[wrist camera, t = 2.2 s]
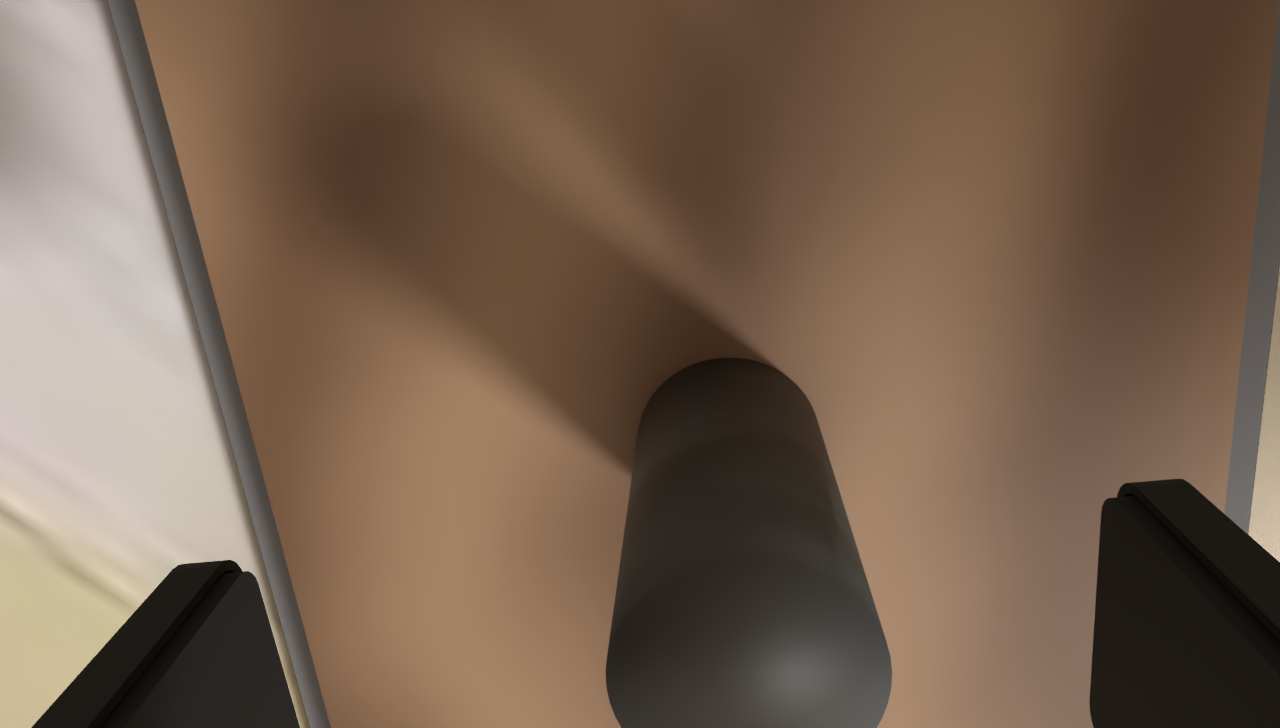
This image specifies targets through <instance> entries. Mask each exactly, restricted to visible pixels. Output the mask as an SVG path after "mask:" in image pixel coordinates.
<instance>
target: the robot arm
mask: <svg viewBox="0 0 1280 728" xmlns="http://www.w3.org/2000/svg"><path fill="white" fill-rule="evenodd" d="M1089 702H1090V714H1091V720H1092V724H1093V727H1094V728H1280V562H1278V561H1277V560H1276V559H1275V558H1274V557H1273V556H1272V555H1270V554H1269V553H1268V552H1267V551H1266V550H1265V549H1264V548H1263V547H1261V546H1260V545H1259V544H1258V543H1257V542H1256V541H1255V540H1253V539H1252V538H1251V537H1250V536H1249V535H1248V534H1247V533H1246V532H1244V531H1243V530H1242V529H1241V528H1240V527H1239V526H1238V525H1236V524H1235V523H1234V522H1233V521H1232V520H1231V519H1230V518H1229V517H1227V516H1226V515H1225V514H1224V513H1223V512H1222V511H1221V510H1219V509H1218V508H1217V507H1216V506H1215V505H1214V504H1213V503H1212V502H1210V501H1209V500H1208V499H1207V498H1206V497H1205V496H1204V495H1202V494H1201V493H1200V492H1199V491H1198V490H1197V489H1196V488H1195V487H1193V486H1192V485H1191V484H1190V483H1189V482H1187V481H1185V480H1184V479H1167V480H1156V481H1144V482H1133V483H1125V484H1123V485H1122V486H1121V487H1120V489H1119V491H1118V494H1117V497H1116V498H1107V499H1106V500H1105V501H1104V503H1103V506H1102V511H1101V523H1100V539H1099V555H1098V571H1097V588H1096V604H1095V620H1094V636H1093V652H1092V668H1091V684H1090V700H1089ZM32 728H300V727H299V723H298V720H297V716H296V713H295V709H294V706H293V702H292V699H291V696H290V692H289V689H288V685H287V682H286V678H285V675H284V671H283V668H282V664H281V661H280V658H279V654H278V651H277V647H276V644H275V640H274V637H273V633H272V630H271V626H270V623H269V620H268V616H267V613H266V609H265V606H264V602H263V599H262V595H261V592H260V588H259V585H258V582H257V580H256V578H255V576H254V575H253V574H252V573H250V572H248V571H247V572H242V570H241V568H240V567H239V566H238V564H237V563H236V562H234V561H231V560H225V561H214V562H202V563H191V564H182V565H178V566H177V567H176V568H174V569H173V570H172V571H171V572H170V573H169V574H168V575H167V577H166V578H165V579H164V580H163V581H162V582H161V583H160V584H159V585H158V587H157V588H156V589H155V590H154V591H153V592H152V593H151V594H150V596H149V597H148V598H147V599H146V600H145V601H144V602H143V603H142V605H141V606H140V607H139V608H138V609H137V610H136V611H135V612H134V613H133V615H132V616H131V617H130V618H129V619H128V620H127V621H126V622H125V624H124V625H123V626H122V627H121V628H120V629H119V630H118V631H117V632H116V634H115V635H114V636H113V637H112V638H111V639H110V640H109V641H108V643H107V644H106V645H105V646H104V647H103V648H102V649H101V650H100V652H99V653H98V654H97V655H96V656H95V657H94V658H93V659H92V660H91V662H90V663H89V664H88V665H87V666H86V667H85V668H84V669H83V671H82V672H81V673H80V674H79V675H78V676H77V677H76V678H75V680H74V681H73V682H72V683H71V684H70V685H69V686H68V687H67V688H66V690H65V691H64V692H63V693H62V694H61V695H60V696H59V697H58V699H57V700H56V701H55V702H54V703H53V704H52V705H51V706H50V707H49V709H48V710H47V711H46V712H45V713H44V714H43V715H42V716H41V718H40V719H39V720H38V721H37V722H36V723H35V724H34V725H33V727H32Z"/></svg>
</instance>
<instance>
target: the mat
mask: <svg viewBox="0 0 1280 728" xmlns="http://www.w3.org/2000/svg"><path fill="white" fill-rule="evenodd" d="M108 4H109V8H110V11H111V15H112V18H113V22H114V26H115V29H116V33H117V36H118V40H119V44H120V47H121V51H122V54H123V58H124V61H125V65H126V69H127V72H128V76H129V79H130V83H131V87H132V90H133V94H134V97H135V101H136V105H137V108H138V112H139V115H140V119H141V122H142V126H143V130H144V133H145V137H146V140H147V144H148V148H149V151H150V155H151V158H152V162H153V166H154V169H155V173H156V176H157V180H158V184H159V187H160V191H161V194H162V198H163V201H164V205H165V209H166V212H167V216H168V219H169V223H170V227H171V230H172V234H173V237H174V241H175V245H176V248H177V252H178V255H179V259H180V262H181V266H182V270H183V273H184V277H185V280H186V284H187V288H188V291H189V295H190V298H191V302H192V306H193V309H194V313H195V316H196V320H197V323H198V327H199V331H200V334H201V338H202V341H203V345H204V349H205V352H206V356H207V359H208V363H209V367H210V370H211V374H212V377H213V381H214V385H215V388H216V392H217V395H218V399H219V402H220V406H221V410H222V413H223V417H224V420H225V424H226V428H227V431H228V435H229V438H230V442H231V446H232V449H233V453H234V456H235V460H236V463H237V467H238V471H239V474H240V478H241V481H242V485H243V489H244V492H245V496H246V499H247V503H248V507H249V510H250V514H251V517H252V521H253V524H254V528H255V532H256V535H257V539H258V542H259V546H260V550H261V553H262V557H263V560H264V564H265V568H266V571H267V575H268V578H269V582H270V586H271V589H272V593H273V596H274V600H275V603H276V607H277V611H278V614H279V618H280V621H281V625H282V629H283V632H284V636H285V639H286V643H287V647H288V650H289V654H290V657H291V661H292V664H293V668H294V672H295V675H296V679H297V682H298V686H299V690H300V693H301V697H302V700H303V704H304V708H305V711H306V715H307V718H308V722H309V725H310V728H331V726H330V722H329V718H328V715H327V711H326V707H325V704H324V700H323V696H322V692H321V689H320V685H319V681H318V678H317V674H316V670H315V666H314V663H313V659H312V655H311V652H310V648H309V644H308V641H307V637H306V633H305V629H304V626H303V622H302V618H301V615H300V611H299V607H298V603H297V600H296V596H295V592H294V589H293V585H292V581H291V577H290V574H289V570H288V566H287V563H286V559H285V555H284V552H283V548H282V544H281V540H280V537H279V533H278V529H277V526H276V522H275V518H274V514H273V511H272V507H271V503H270V500H269V496H268V492H267V488H266V485H265V481H264V477H263V474H262V470H261V466H260V462H259V459H258V455H257V451H256V448H255V444H254V440H253V437H252V433H251V429H250V425H249V422H248V418H247V414H246V411H245V407H244V403H243V399H242V396H241V392H240V388H239V385H238V381H237V377H236V373H235V370H234V366H233V362H232V359H231V355H230V351H229V347H228V344H227V340H226V336H225V333H224V329H223V325H222V322H221V318H220V314H219V310H218V307H217V303H216V299H215V296H214V292H213V288H212V284H211V281H210V277H209V273H208V270H207V266H206V262H205V258H204V255H203V251H202V247H201V244H200V240H199V236H198V233H197V229H196V225H195V221H194V218H193V214H192V210H191V207H190V203H189V199H188V195H187V192H186V188H185V184H184V181H183V177H182V173H181V169H180V166H179V162H178V158H177V155H176V151H175V147H174V143H173V140H172V136H171V132H170V129H169V125H168V121H167V118H166V114H165V110H164V106H163V103H162V99H161V95H160V92H159V88H158V84H157V80H156V77H155V73H154V69H153V66H152V62H151V58H150V54H149V51H148V47H147V43H146V40H145V36H144V32H143V28H142V25H141V21H140V17H139V14H138V10H137V6H136V3H135V0H108ZM1279 265H1280V0H1279V5H1278V14H1277V24H1276V33H1275V42H1274V52H1273V61H1272V71H1271V80H1270V89H1269V99H1268V108H1267V118H1266V127H1265V136H1264V146H1263V155H1262V165H1261V174H1260V183H1259V193H1258V202H1257V211H1256V221H1255V230H1254V240H1253V249H1252V258H1251V268H1250V277H1249V287H1248V296H1247V305H1246V315H1245V324H1244V334H1243V343H1242V352H1241V362H1240V371H1239V381H1238V390H1237V399H1236V409H1235V418H1234V427H1233V437H1232V446H1231V456H1230V465H1229V474H1228V484H1227V493H1226V503H1225V512H1224V514H1225V515H1226V516H1227V517H1229V518H1230V519H1231V520H1232V521H1233V522H1234V523H1235V524H1236V525H1238V526H1239V527H1240V528H1241V529H1242V530H1243V531H1244V532H1246V533H1247V534H1248V530H1249V522H1250V513H1251V505H1252V496H1253V488H1254V479H1255V471H1256V462H1257V453H1258V445H1259V436H1260V428H1261V419H1262V411H1263V402H1264V394H1265V385H1266V376H1267V368H1268V359H1269V351H1270V342H1271V334H1272V325H1273V316H1274V308H1275V299H1276V291H1277V282H1278V274H1279Z"/></svg>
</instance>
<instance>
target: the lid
mask: <svg viewBox="0 0 1280 728" xmlns="http://www.w3.org/2000/svg"><path fill="white" fill-rule="evenodd" d="M135 3H136V6H137V10H138V14H139V17H140V21H141V25H142V28H143V32H144V36H145V40H146V43H147V47H148V51H149V54H150V58H151V62H152V66H153V69H154V73H155V77H156V80H157V84H158V88H159V92H160V95H161V99H162V103H163V106H164V110H165V114H166V118H167V121H168V125H169V129H170V132H171V136H172V140H173V143H174V147H175V151H176V155H177V158H178V162H179V166H180V169H181V173H182V177H183V181H184V184H185V188H186V192H187V195H188V199H189V203H190V207H191V210H192V214H193V218H194V221H195V225H196V229H197V233H198V236H199V240H200V244H201V247H202V251H203V255H204V258H205V262H206V266H207V270H208V273H209V277H210V281H211V284H212V288H213V292H214V296H215V299H216V303H217V307H218V310H219V314H220V318H221V322H222V325H223V329H224V333H225V336H226V340H227V344H228V347H229V351H230V355H231V359H232V362H233V366H234V370H235V373H236V377H237V381H238V385H239V388H240V392H241V396H242V399H243V403H244V407H245V411H246V414H247V418H248V422H249V425H250V429H251V433H252V437H253V440H254V444H255V448H256V451H257V455H258V459H259V462H260V466H261V470H262V474H263V477H264V481H265V485H266V488H267V492H268V496H269V500H270V503H271V507H272V511H273V514H274V518H275V522H276V526H277V529H278V533H279V537H280V540H281V544H282V548H283V552H284V555H285V559H286V563H287V566H288V570H289V574H290V577H291V581H292V585H293V589H294V592H295V596H296V600H297V603H298V607H299V611H300V615H301V618H302V622H303V626H304V629H305V633H306V637H307V641H308V644H309V648H310V652H311V655H312V659H313V663H314V666H315V670H316V674H317V678H318V681H319V685H320V689H321V692H322V696H323V700H324V704H325V707H326V711H327V715H328V718H329V722H330V726H331V728H1094V727H1093V724H1092V720H1091V714H1090V702H1089V700H1090V684H1091V668H1092V652H1093V636H1094V620H1095V604H1096V588H1097V571H1098V555H1099V539H1100V523H1101V511H1102V506H1103V503H1104V501H1105V500H1106V499H1107V498H1116V497H1117V494H1118V491H1119V489H1120V487H1121V486H1122V485H1123V484H1125V483H1133V482H1144V481H1156V480H1167V479H1184V480H1185V481H1187V482H1189V483H1190V484H1191V485H1192V486H1193V487H1195V488H1196V489H1197V490H1198V491H1199V492H1200V493H1201V494H1202V495H1204V496H1205V497H1206V498H1207V499H1208V500H1209V501H1210V502H1212V503H1213V504H1214V505H1215V506H1216V507H1217V508H1218V509H1219V510H1221V511H1222V512H1223V513H1224V512H1225V503H1226V493H1227V484H1228V474H1229V465H1230V456H1231V446H1232V437H1233V427H1234V418H1235V409H1236V399H1237V390H1238V381H1239V371H1240V362H1241V352H1242V343H1243V334H1244V324H1245V315H1246V305H1247V296H1248V287H1249V277H1250V268H1251V258H1252V249H1253V240H1254V230H1255V221H1256V211H1257V202H1258V193H1259V183H1260V174H1261V165H1262V155H1263V146H1264V136H1265V127H1266V118H1267V108H1268V99H1269V89H1270V80H1271V71H1272V61H1273V52H1274V42H1275V33H1276V24H1277V14H1278V5H1279V0H135Z"/></svg>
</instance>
